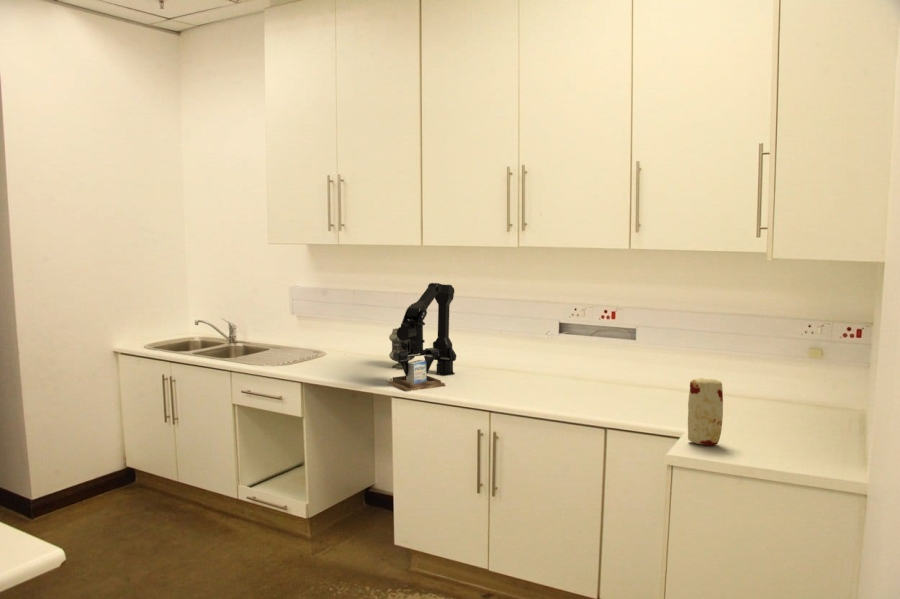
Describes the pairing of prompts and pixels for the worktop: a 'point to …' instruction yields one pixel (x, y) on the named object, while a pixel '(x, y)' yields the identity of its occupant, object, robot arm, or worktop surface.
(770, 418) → the worktop surface
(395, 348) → the grey ornate vase
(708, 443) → the food model
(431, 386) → the walnut tray
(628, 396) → the worktop surface
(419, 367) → the medicine box
